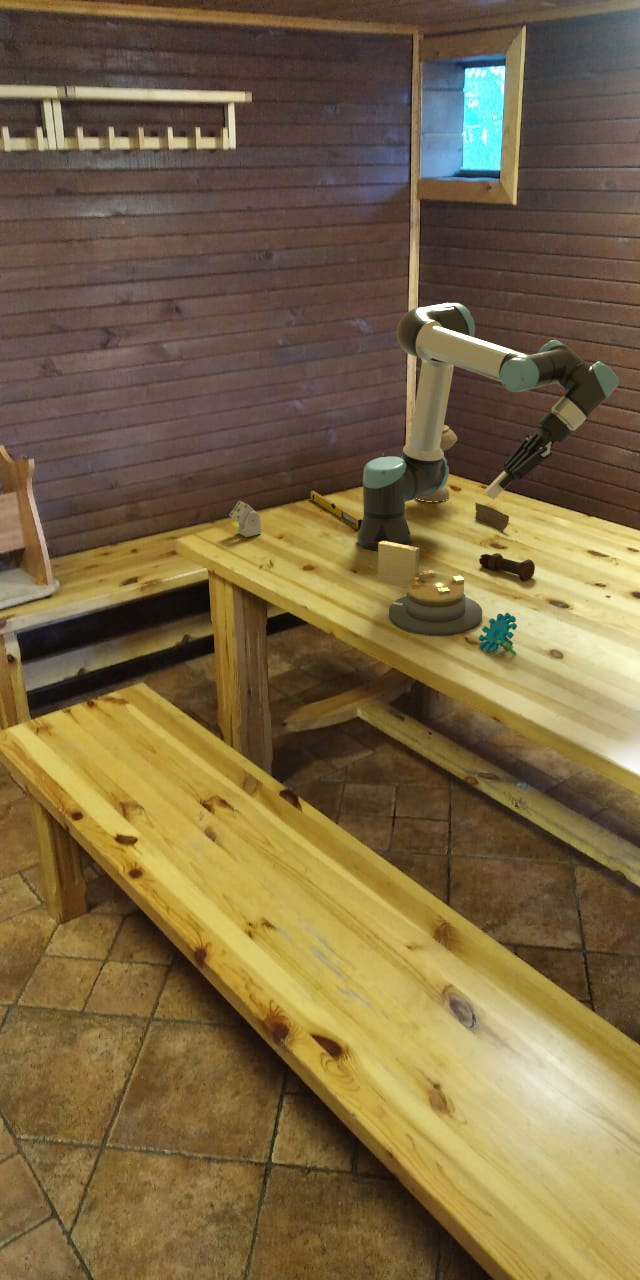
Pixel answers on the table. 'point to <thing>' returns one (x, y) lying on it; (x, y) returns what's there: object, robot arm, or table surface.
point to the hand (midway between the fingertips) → (489, 495)
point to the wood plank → (492, 516)
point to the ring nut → (417, 576)
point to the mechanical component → (246, 519)
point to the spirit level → (335, 509)
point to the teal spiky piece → (498, 633)
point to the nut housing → (435, 617)
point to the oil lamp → (446, 443)
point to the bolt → (509, 565)
